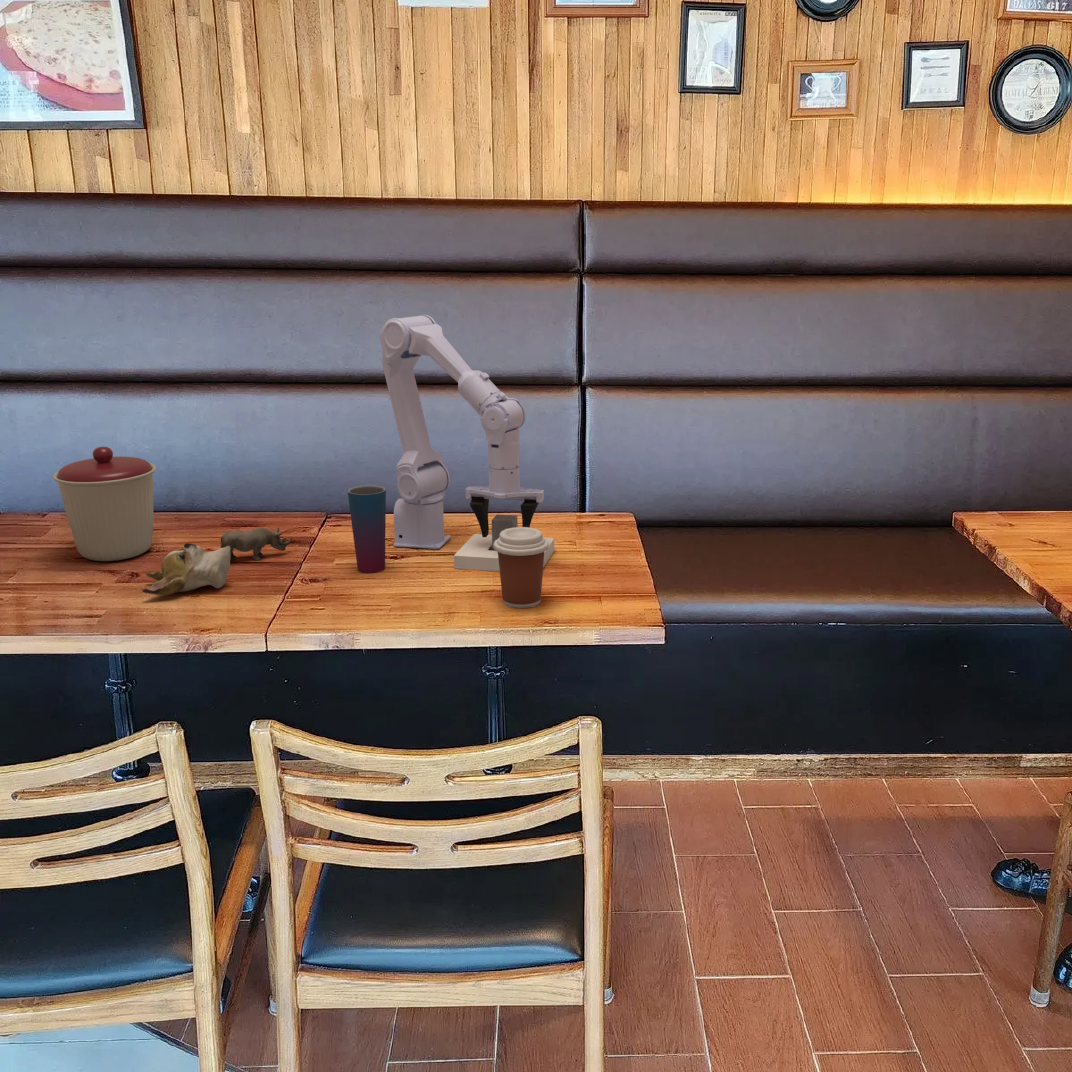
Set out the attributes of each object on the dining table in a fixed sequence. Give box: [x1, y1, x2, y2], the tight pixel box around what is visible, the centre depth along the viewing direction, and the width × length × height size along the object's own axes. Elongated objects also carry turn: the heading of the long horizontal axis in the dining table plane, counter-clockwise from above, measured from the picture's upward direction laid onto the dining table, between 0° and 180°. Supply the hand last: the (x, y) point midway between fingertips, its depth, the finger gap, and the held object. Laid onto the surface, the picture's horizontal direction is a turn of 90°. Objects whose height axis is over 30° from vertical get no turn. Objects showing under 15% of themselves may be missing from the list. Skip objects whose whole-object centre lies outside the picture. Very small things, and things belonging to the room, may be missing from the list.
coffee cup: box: [493, 526, 549, 609], centre depth 167 cm, size 9×9×12 cm
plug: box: [491, 514, 519, 551], centre depth 189 cm, size 4×4×8 cm
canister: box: [52, 446, 157, 562], centre depth 192 cm, size 18×18×21 cm
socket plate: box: [453, 533, 555, 572], centre depth 190 cm, size 16×14×2 cm
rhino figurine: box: [220, 527, 293, 561], centre depth 191 cm, size 4×14×6 cm, turn 113°
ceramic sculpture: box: [141, 542, 231, 596], centre depth 175 cm, size 11×9×15 cm
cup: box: [347, 484, 387, 574], centre depth 183 cm, size 7×7×15 cm
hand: (505, 537), depth 189 cm, fingers open, 7 cm apart
